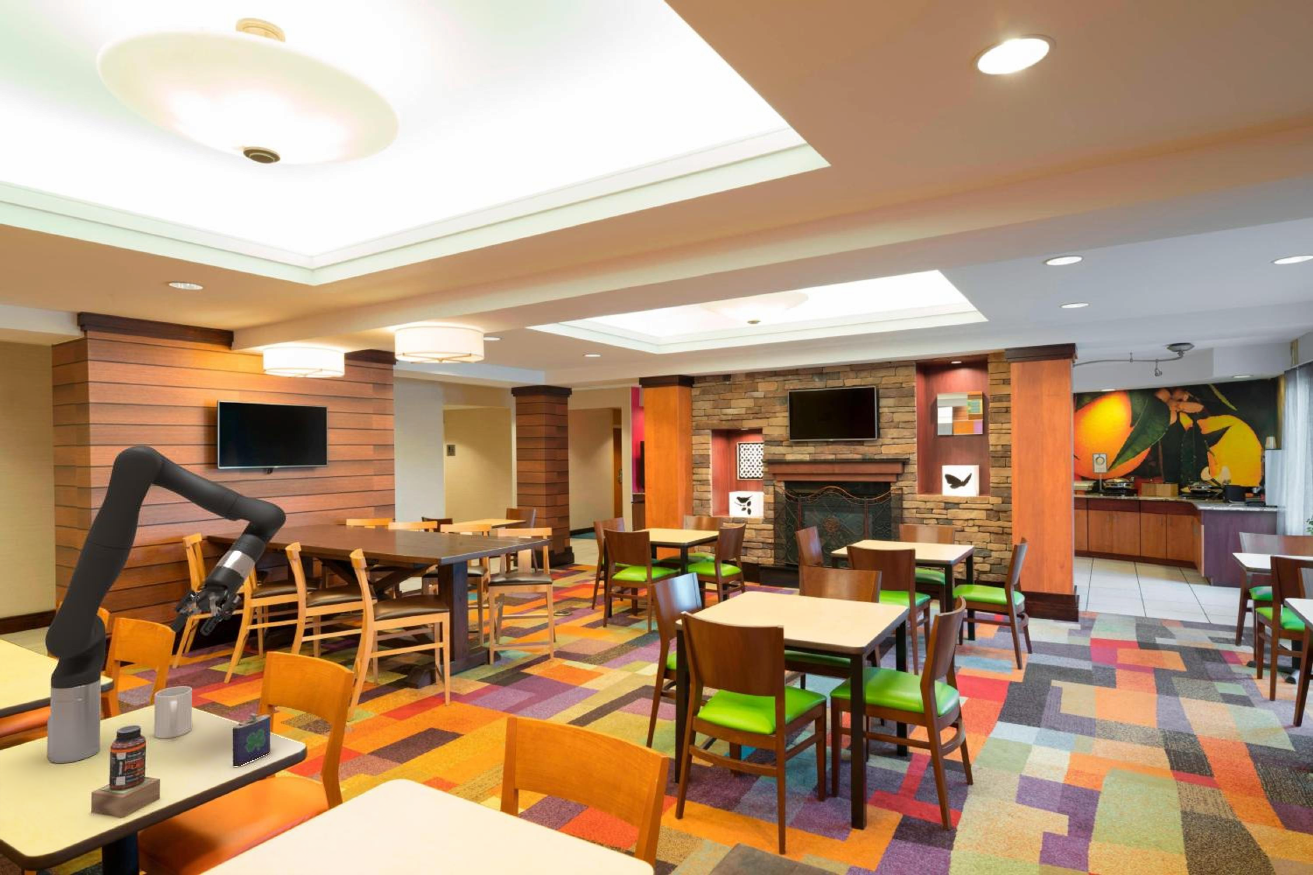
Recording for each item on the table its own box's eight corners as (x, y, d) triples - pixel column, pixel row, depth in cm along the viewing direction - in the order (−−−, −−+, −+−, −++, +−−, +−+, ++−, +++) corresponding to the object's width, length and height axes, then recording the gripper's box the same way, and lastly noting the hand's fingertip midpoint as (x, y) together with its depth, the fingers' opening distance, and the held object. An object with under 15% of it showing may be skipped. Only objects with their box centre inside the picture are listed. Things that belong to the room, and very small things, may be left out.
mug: (154, 730, 182) (155, 689, 182) (191, 723, 187) (191, 684, 187) (153, 747, 172) (153, 704, 172) (192, 740, 177) (192, 697, 177)
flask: (265, 750, 171) (266, 705, 171) (274, 752, 170) (274, 707, 170) (229, 766, 163) (230, 719, 163) (238, 768, 161) (238, 721, 161)
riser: (91, 812, 142) (91, 791, 142) (129, 793, 150) (130, 773, 150) (122, 817, 140) (122, 796, 140) (159, 797, 148) (160, 777, 148)
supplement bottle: (125, 792, 142) (126, 735, 142) (101, 789, 143) (102, 732, 143) (152, 778, 147) (153, 724, 148) (129, 775, 149) (129, 721, 149)
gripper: (197, 563, 174) (153, 621, 162) (245, 566, 170) (203, 625, 159) (215, 580, 179) (174, 638, 168) (262, 583, 175) (223, 642, 164)
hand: (188, 631), depth 163 cm, fingers open, 8 cm apart
